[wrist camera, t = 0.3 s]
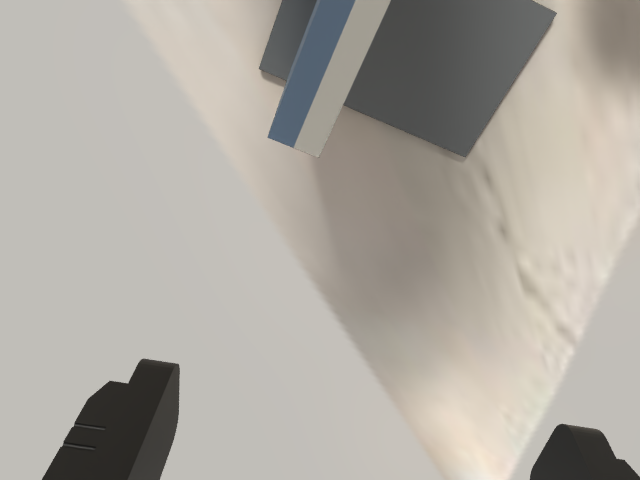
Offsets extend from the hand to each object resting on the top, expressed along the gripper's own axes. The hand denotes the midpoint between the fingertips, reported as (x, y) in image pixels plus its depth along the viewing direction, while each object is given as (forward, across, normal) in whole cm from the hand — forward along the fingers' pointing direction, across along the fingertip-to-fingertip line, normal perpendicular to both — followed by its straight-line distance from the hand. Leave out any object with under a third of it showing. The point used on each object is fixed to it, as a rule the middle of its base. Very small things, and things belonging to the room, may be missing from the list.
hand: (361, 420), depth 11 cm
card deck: (+19, +2, -6) cm, 20 cm away
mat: (+20, -1, -5) cm, 20 cm away
